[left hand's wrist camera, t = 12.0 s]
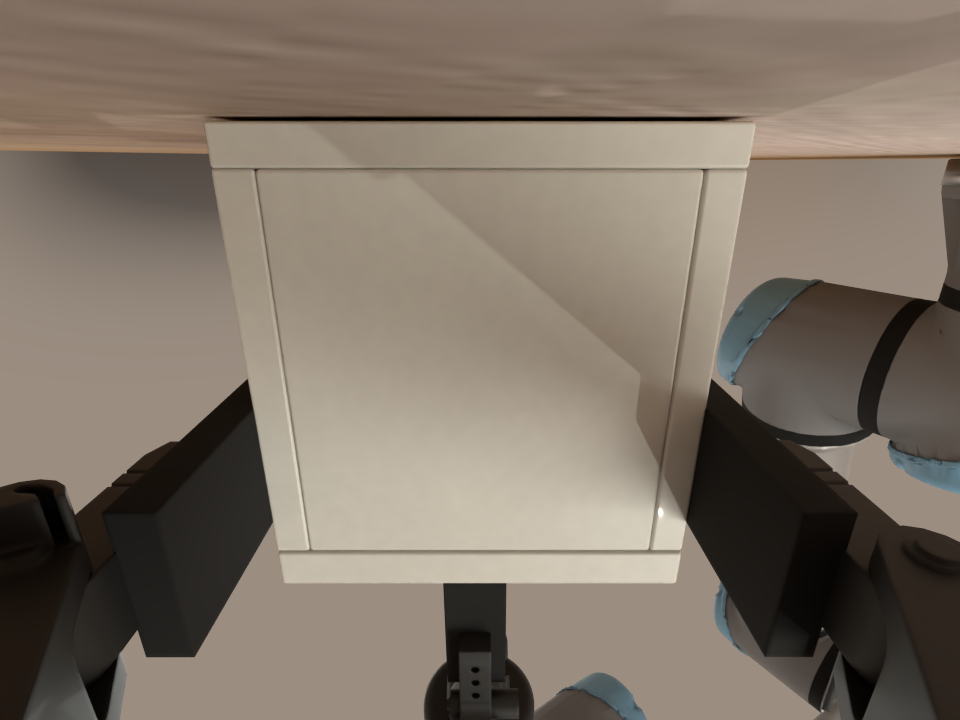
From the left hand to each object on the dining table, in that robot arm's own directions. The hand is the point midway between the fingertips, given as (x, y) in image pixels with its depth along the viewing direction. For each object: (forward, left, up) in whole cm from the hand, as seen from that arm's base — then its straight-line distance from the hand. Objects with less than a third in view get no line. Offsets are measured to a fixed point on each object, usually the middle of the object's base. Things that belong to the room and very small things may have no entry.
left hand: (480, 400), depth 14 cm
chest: (+4, -3, -7) cm, 8 cm away
